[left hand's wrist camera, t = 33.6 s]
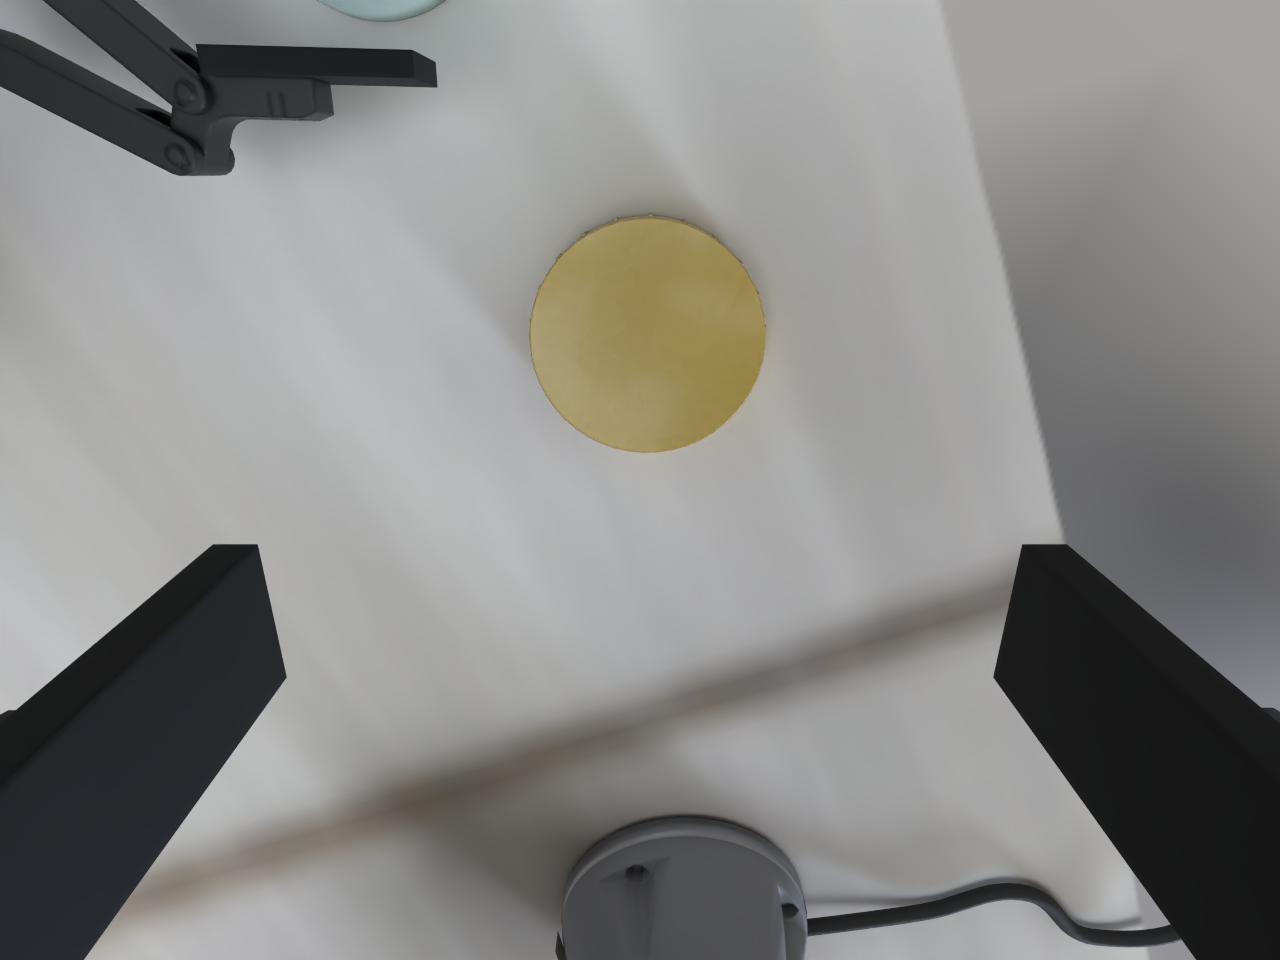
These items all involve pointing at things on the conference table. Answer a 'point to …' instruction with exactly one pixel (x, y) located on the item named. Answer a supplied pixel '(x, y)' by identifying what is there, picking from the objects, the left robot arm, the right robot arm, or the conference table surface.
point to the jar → (382, 8)
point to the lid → (647, 334)
